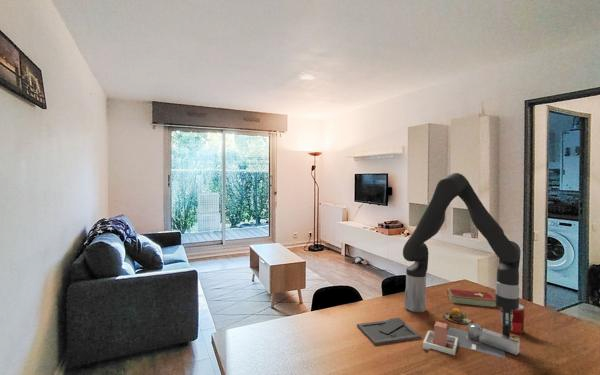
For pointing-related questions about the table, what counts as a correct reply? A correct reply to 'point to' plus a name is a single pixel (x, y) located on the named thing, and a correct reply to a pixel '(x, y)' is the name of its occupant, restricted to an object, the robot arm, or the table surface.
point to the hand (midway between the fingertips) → (505, 338)
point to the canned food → (517, 320)
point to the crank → (493, 338)
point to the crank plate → (473, 343)
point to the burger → (457, 316)
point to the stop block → (440, 334)
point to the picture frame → (388, 331)
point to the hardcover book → (471, 297)
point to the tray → (428, 344)
